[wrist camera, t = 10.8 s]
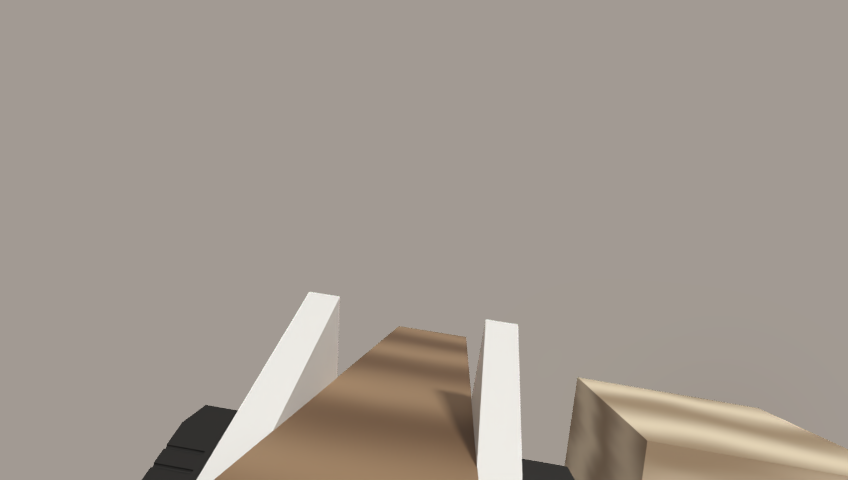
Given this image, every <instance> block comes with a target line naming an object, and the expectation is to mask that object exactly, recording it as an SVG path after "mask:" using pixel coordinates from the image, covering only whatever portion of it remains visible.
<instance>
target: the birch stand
mask: <svg viewBox="0 0 848 480" xmlns="http://www.w3.org/2000/svg"><path fill="white" fill-rule="evenodd" d="M565 466H566V467H568V469H569V470H570V472H571V474H572V476H573V477H574V479H575V480H848V449H846V448H844V447H841V446H839V445H837V444H835V443H833V442H830V441H828V440H826V439H824V438H822V437H820V436H818V435H815V434H813V433H811V432H809V431H807V430H805V429H802V428H800V427H798V426H796V425H793V424H791V423H789V422H787V421H785V420H783V419H781V418H778V417H776V416H774V415H772V414H770V413H767V412H765V411H763V410H761V409H759V408H754V407H748V406H742V405H736V404H731V403H725V402H719V401H713V400H707V399H702V398H696V397H690V396H684V395H678V394H672V393H666V392H661V391H654V390H649V389H643V388H637V387H631V386H626V385H619V384H614V383H608V382H602V381H596V380H590V379H584V378H579V377H578V378H577V386H576V393H575V399H574V406H573V413H572V420H571V426H570V433H569V440H568V447H567V454H566V461H565Z"/></svg>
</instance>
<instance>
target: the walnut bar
mask: <svg viewBox="0 0 848 480" xmlns="http://www.w3.org/2000/svg"><path fill="white" fill-rule="evenodd" d="M467 356H468V355H467V345H466V337H462V336H456V335H449V334H443V333H438V332H431V331H425V330H419V329H412V328H406V327H400V326H399V327H398V328H396V329H395V330H394V331H393V332H392V333H390V334H389V335H388V336H387V337H385V338H384V339H383V340H382V341H381V342H380V343H378V344H377V345H376V346H375V347H373V348H372V349H371V350H370V351H369V352H368V353H366V354H365V355H364V356H363V357H361V358H360V359H359V360H358V361H357V362H355V363H354V364H353V365H352V366H351V367H349V368H348V369H347V370H346V371H344V372H343V373H342V374H341V375H340V376H338V377H337V378H336V379H335V380H334V381H333V382H332V383H330V384H329V385H328V386H327V387H325V388H324V389H323V390H322V391H321V392H319V393H318V394H317V395H316V396H315V397H313V398H312V399H311V400H310V401H309V402H307V403H306V404H305V405H304V406H303V407H301V408H300V409H299V410H298V411H297V412H295V413H294V414H293V415H292V416H291V417H289V418H288V419H287V420H286V421H285V422H283V423H282V424H281V425H280V426H278V427H277V428H276V429H275V430H274V431H272V432H271V433H270V434H268V435H267V436H266V437H265V438H264V439H262V440H261V441H260V442H259V443H258V444H256V445H255V446H254V447H253V448H251V449H250V450H249V451H248V452H247V453H245V454H244V455H243V456H242V457H241V458H239V459H238V460H237V461H236V462H235V463H233V464H232V465H231V466H230V467H229V468H227V469H226V470H225V471H224V472H223V473H221V474H220V475H219V476H218V477H216V478H215V479H214V480H478V469H477V464H476V451H475V439H474V427H473V415H472V403H471V390H470V379H469V367H468V357H467Z"/></svg>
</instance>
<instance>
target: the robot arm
mask: <svg viewBox="0 0 848 480" xmlns="http://www.w3.org/2000/svg"><path fill="white" fill-rule="evenodd" d="M339 311H340V296H333V295H327V294H321V293H314V292H309V293H308V295H307V297H306V298H305V300H304V302H303V303H302V305H301V307H300V308H299V310H298V312H297V313H296V315H295V317H294V318H293V320H292V322H291V323H290V325H289V326H288V328H287V330H286V331H285V333H284V335H283V336H282V338H281V340H280V342H279V343H278V345H277V347H276V348H275V350H274V351H273V353H272V355H271V357H270V358H269V360H268V361H267V363H266V365H265V367H264V368H263V370H262V372H261V373H260V375H259V376H258V378H257V380H256V381H255V383H254V385H253V386H252V388H251V390H250V392H249V393H248V395H247V396H246V398H245V400H244V402H243V403H242V405H241V406H240V408H239V410H238V411H236V410H231V409H225V408H219V407H214V406H208V405H205V406H204V407H203V408H201V409H200V410H199V411H197V412H196V413H195V414H193V415H192V416H190V417H189V418H188V419H186V420H185V421H184V422H182V424H181V425H180V427H179V428H178V430H177V431H176V432H175V434H174V435H173V437H172V438H171V439H170V441H169V442H168V444H167V447H166V449H163V451H162V452H161V453H160V455H159V456H158V458H157V459H156V461H155V462H154V466H153V467H152V468H150V469H149V471H148V472H147V473H146V475H145V476H144V478H143V479H142V480H214V479H215V478H216V477H218V476H219V475H220V474H221V473H223V472H224V471H225V470H226V469H227V468H229V467H230V466H231V465H232V464H233V463H235V462H236V461H237V460H238V459H239V458H241V457H242V456H243V455H244V454H245V453H247V452H248V451H249V450H250V449H251V448H253V447H254V446H255V445H256V444H258V443H259V442H260V441H261V440H262V439H264V438H265V437H266V436H267V435H268V434H270V433H271V432H272V431H274V430H275V429H276V428H277V427H278V426H280V425H281V424H282V423H283V422H285V421H286V420H287V419H288V418H289V417H291V416H292V415H293V414H294V413H295V412H297V411H298V410H299V409H300V408H301V407H303V406H304V405H305V404H306V403H307V402H309V401H310V400H311V399H312V398H313V397H315V396H316V395H317V394H318V393H319V392H321V391H322V390H323V389H324V388H325V387H327V386H328V385H329V384H330V383H332V382H333V381H334V380H335V379H336V378H337V366H338V339H339ZM471 403H472V415H473V427H474V439H475V451H476V464H477V469H478V480H575V479H574V477H573V476H572V474H571V472H570V470H569V469H568V467H566V466H560V465H555V464H549V463H543V462H537V461H531V460H525V459H522V449H521V448H522V447H521V413H520V379H519V347H518V325H517V324H511V323H505V322H499V321H493V320H486V321H485V327H484V332H483V338H482V344H481V350H480V355H479V360H478V366H477V372H476V378H475V383H474V389H473V394H472V400H471Z"/></svg>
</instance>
